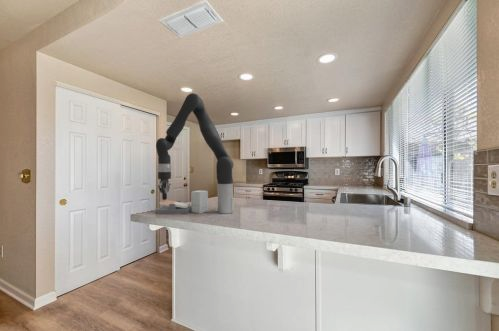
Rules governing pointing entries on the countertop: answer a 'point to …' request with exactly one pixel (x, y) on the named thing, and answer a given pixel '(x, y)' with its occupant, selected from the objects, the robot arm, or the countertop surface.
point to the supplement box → (199, 201)
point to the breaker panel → (173, 209)
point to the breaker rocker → (177, 204)
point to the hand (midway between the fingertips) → (164, 199)
